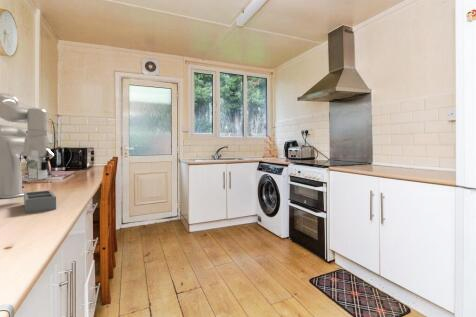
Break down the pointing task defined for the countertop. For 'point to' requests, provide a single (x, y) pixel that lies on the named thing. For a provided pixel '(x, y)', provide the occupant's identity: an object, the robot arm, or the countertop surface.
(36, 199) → the holder
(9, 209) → the countertop surface
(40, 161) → the syrup box
